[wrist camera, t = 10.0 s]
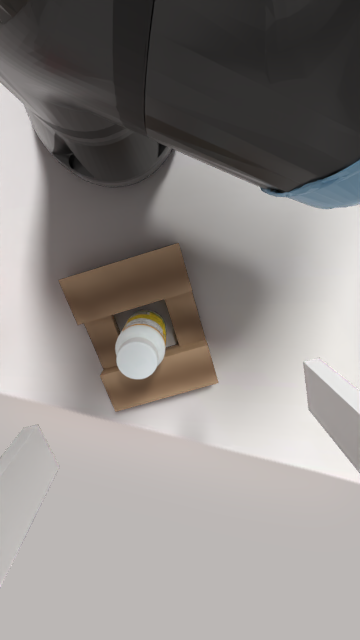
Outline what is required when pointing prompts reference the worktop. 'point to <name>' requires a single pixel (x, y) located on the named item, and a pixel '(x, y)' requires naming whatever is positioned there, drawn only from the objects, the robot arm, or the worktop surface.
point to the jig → (131, 292)
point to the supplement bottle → (141, 344)
